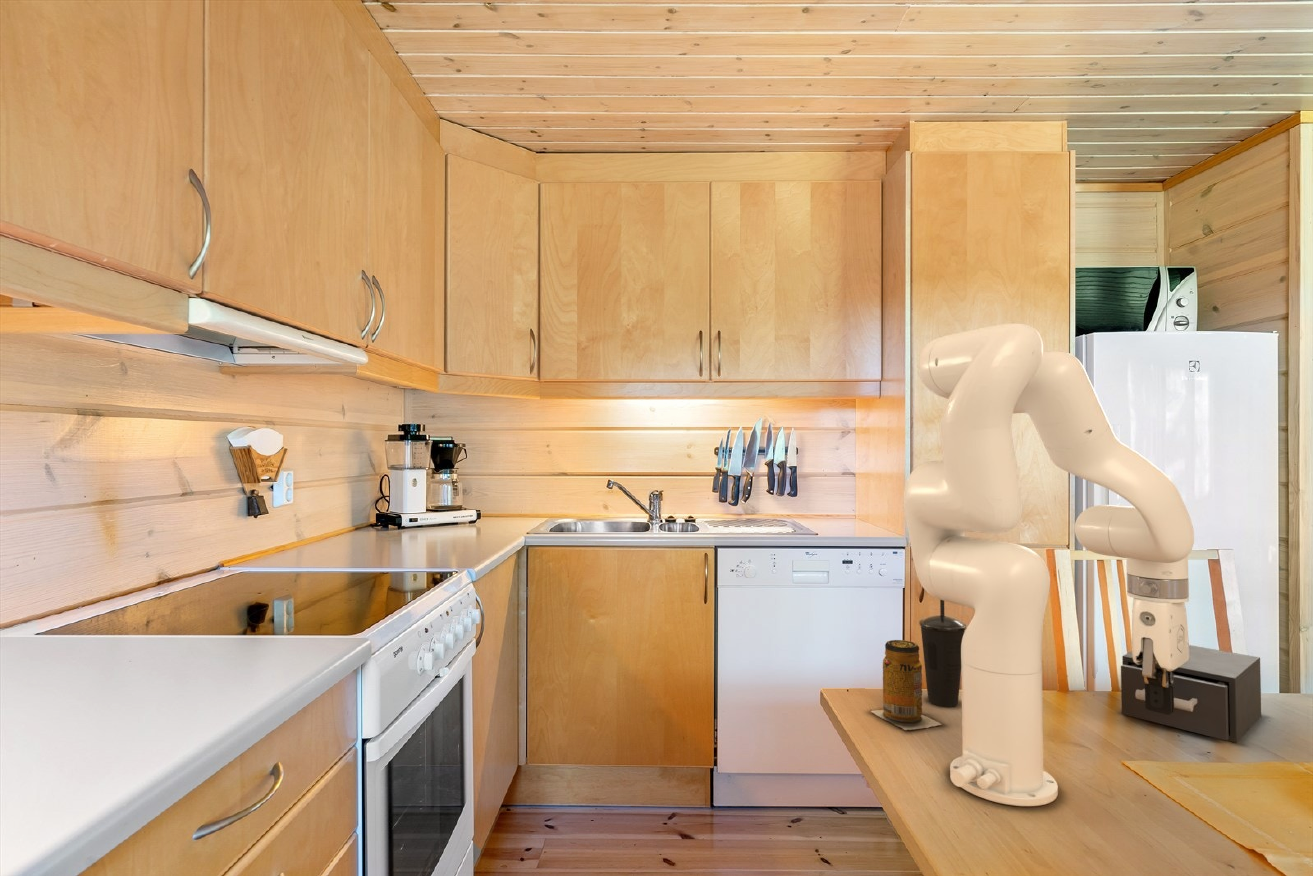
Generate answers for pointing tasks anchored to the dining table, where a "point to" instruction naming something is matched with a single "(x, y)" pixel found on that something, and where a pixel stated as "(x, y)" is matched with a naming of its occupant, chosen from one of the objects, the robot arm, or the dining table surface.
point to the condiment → (903, 687)
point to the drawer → (1181, 702)
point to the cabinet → (1229, 669)
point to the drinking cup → (942, 657)
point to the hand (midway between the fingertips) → (1159, 710)
